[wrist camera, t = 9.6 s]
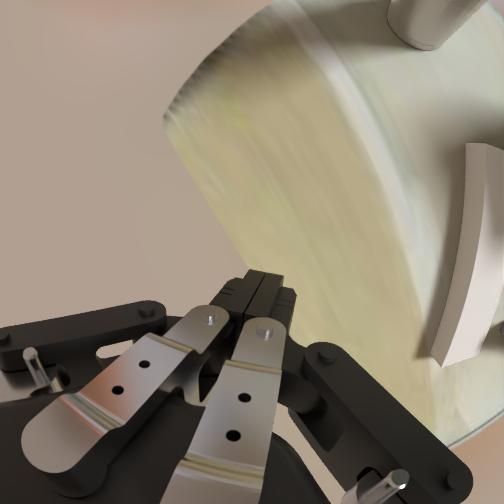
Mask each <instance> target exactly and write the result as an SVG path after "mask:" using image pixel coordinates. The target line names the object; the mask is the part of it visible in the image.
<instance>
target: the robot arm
mask: <svg viewBox="0 0 504 504" xmlns="http://www.w3.org/2000/svg"><path fill="white" fill-rule="evenodd" d="M486 1H487V0H392V1H391V3H390V6H389V9H388V12H387V19H388V23H389V25H390V27H391V29H392V30H393V31H394V32H395V34H396V35H397V36H398V37H399V38H400V39H402V40H403V41H404V42H406V43H407V44H409V45H411V46H413V47H415V48H418V49H422V50H429V51H430V50H435V49H437V48H439V47H440V46H441V45H442V44H443V43H444V42H445V41H446V40H447V39H448V38H450V37H451V36H452V35H453V34H454V33H455V32H456V31H457V30H458V29H459V28H460V27H461V26H462V25H463V24H464V23H465V22H466V21H467V20H468V19H469V18H470V17H471V16H472V15H473V14H474V13H475V12H476V11H477V10H478V9H479V8H480V7H481V6H482V5H483V4H484V3H485V2H486ZM283 279H284V276H283V275H278V274H272V273H267V274H266V272H262V271H256V270H251V269H249V271H248V272H247V274H246V275H245V277H244V278H243V279H241V278H234V279H231V280H229V281H227V283H226V284H225V285H224V286H223V288H222V289H221V290H220V291H219V293H218V294H217V295H216V296H215V297H214V299H213V300H212V301H211V302H210V303H209V305H202V306H197V307H195V308H193V309H192V310H190V311H189V312H188V313H187V314H186V315H185V316H184V317H177V316H167V315H166V308H165V306H164V305H163V304H161V303H159V302H156V301H151V300H149V301H148V300H146V301H139V302H134V303H130V304H125V305H120V306H115V307H110V308H106V309H101V310H96V311H90V312H85V313H80V314H75V315H70V316H64V317H59V318H54V319H48V320H43V321H37V322H32V323H26V324H20V325H14V326H9V327H3V328H0V504H331V503H330V501H329V500H328V499H327V497H326V496H325V494H324V493H323V491H322V490H321V488H320V487H319V485H318V484H317V482H316V481H315V479H314V478H313V476H312V475H311V473H310V472H309V470H308V469H307V467H306V465H305V464H304V462H303V461H302V459H301V458H300V456H299V454H298V453H297V452H296V451H295V449H294V448H293V447H292V446H291V445H290V444H289V443H288V442H287V441H285V440H284V439H283V438H281V437H280V436H278V435H277V434H275V433H273V432H272V429H273V424H274V417H275V412H276V406H277V402H278V403H280V404H282V405H284V406H286V407H288V413H289V415H290V417H291V419H292V420H293V422H294V423H295V424H296V426H297V427H298V429H299V430H300V432H301V433H302V434H303V436H304V437H305V438H306V440H307V441H308V442H309V444H310V445H311V447H312V448H313V450H314V451H315V452H316V454H317V455H318V456H319V458H320V459H321V460H322V462H323V463H324V464H325V466H326V467H327V468H328V470H329V471H330V472H331V473H332V475H333V476H334V477H335V479H336V480H337V481H338V483H339V484H340V485H341V486H342V488H343V489H344V490H345V491H346V493H345V495H344V496H343V498H342V500H341V504H460V503H461V502H463V501H464V500H465V499H466V498H467V497H468V496H469V494H470V493H471V490H472V487H473V476H472V473H471V471H470V469H469V468H468V467H467V465H466V464H464V463H463V462H462V461H461V460H460V459H459V458H458V457H457V456H456V455H455V454H454V453H453V452H451V451H450V450H449V449H448V448H447V447H446V446H445V445H444V444H443V443H442V442H441V441H440V440H439V439H438V438H436V437H435V436H434V435H433V434H432V433H431V432H430V431H429V430H428V429H427V428H426V427H425V426H424V425H423V424H422V423H420V422H419V421H418V420H417V419H416V418H415V417H414V416H413V415H412V414H411V413H410V412H409V411H408V410H407V409H406V408H405V407H403V406H402V405H401V404H400V403H399V402H398V401H397V400H396V399H395V398H394V397H393V396H392V395H391V394H390V393H389V392H388V391H387V390H386V389H384V388H383V387H382V386H381V385H380V384H379V383H378V382H377V381H376V380H375V379H374V378H373V377H372V376H371V375H370V374H369V373H368V372H367V371H366V370H364V369H363V368H362V367H361V366H360V365H359V364H358V363H357V362H356V361H355V360H354V359H353V358H352V357H351V356H350V355H349V354H348V353H347V352H346V351H345V350H343V349H342V348H341V347H339V346H337V345H335V344H332V343H328V342H317V343H313V344H311V345H309V346H308V347H307V348H306V347H303V346H301V345H299V344H297V343H296V342H295V341H293V340H292V339H291V337H290V336H289V330H290V326H291V321H292V316H293V311H294V306H295V301H296V296H297V295H296V293H295V291H294V289H292V288H287V287H282V286H283ZM128 340H132V341H133V345H132V347H130V348H129V349H128V350H127V351H125V352H124V353H123V354H122V355H117V356H113V357H109V358H99V357H98V356H97V355H96V351H97V350H98V349H99V348H100V347H103V346H107V345H111V344H115V343H120V342H124V341H128Z"/></svg>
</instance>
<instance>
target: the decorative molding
mask: <svg viewBox="0 0 504 504" xmlns="http://www.w3.org/2000/svg"><path fill="white" fill-rule="evenodd" d="M465 150H466V167H465V192H464V206H463V216H462V225H461V233H460V239H459V246H458V251H457V257H456V262H455V267H454V272H453V277H452V281H451V286H450V290H449V294H448V298H447V301H446V305H445V308H444V312H443V315H442V318H441V322H440V325H439V328H438V331H437V334H436V337H435V340H434V343H433V346H432V348H431V351H430V354H431V355H432V356H433V358H434V359H435V360H436V361H437V363H438V364H439V365H440V366H441V368H442V367H445V366H448V365H451V364H454V363H456V362H459V361H462V360H465V359H468V358H470V357H473V356H475V355H478V354H479V352H480V350H481V347H482V345H483V343H484V340H485V338H486V335H487V333H488V330H489V328H490V325H491V322H492V319H493V317H494V314H495V311H496V308H497V305H498V302H499V298H500V295H501V292H502V288H503V285H504V150H502V149H500V148H497V147H494V146H491V145H489V144H486V143H465Z"/></svg>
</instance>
